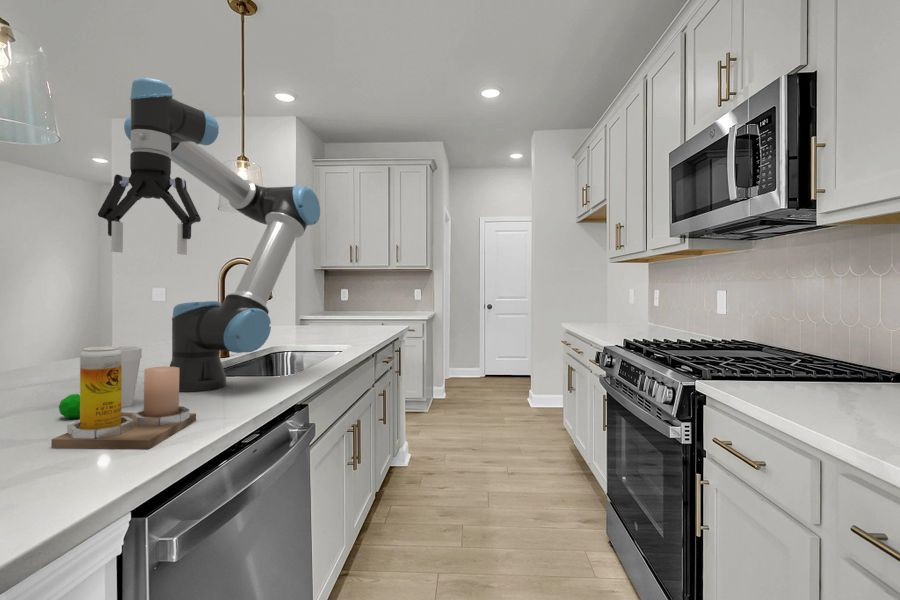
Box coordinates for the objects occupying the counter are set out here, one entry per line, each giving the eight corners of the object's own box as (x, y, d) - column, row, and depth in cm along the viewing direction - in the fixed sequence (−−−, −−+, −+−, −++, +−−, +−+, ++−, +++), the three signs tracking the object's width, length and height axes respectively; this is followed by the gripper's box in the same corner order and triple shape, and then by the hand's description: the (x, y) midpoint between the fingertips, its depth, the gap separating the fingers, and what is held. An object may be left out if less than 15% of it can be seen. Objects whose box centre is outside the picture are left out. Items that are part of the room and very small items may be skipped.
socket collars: (117, 412, 102) (117, 405, 102) (195, 413, 103) (195, 406, 103) (55, 438, 84) (55, 429, 84) (150, 439, 85) (150, 431, 85)
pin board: (116, 419, 102) (116, 412, 102) (196, 420, 103) (196, 413, 103) (51, 448, 84) (51, 439, 84) (148, 449, 85) (149, 440, 85)
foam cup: (142, 399, 120) (143, 345, 119) (138, 407, 112) (139, 350, 111) (95, 402, 116) (95, 346, 115) (87, 411, 107) (87, 351, 107)
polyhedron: (81, 420, 101) (82, 397, 100) (53, 421, 99) (53, 397, 99) (93, 414, 105) (93, 392, 105) (66, 415, 104) (66, 392, 104)
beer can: (99, 437, 86) (100, 351, 85) (71, 434, 87) (71, 349, 87) (129, 427, 92) (129, 347, 91) (101, 425, 93) (102, 345, 92)
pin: (153, 415, 101) (154, 366, 100) (184, 415, 101) (185, 366, 101) (137, 423, 95) (137, 371, 94) (169, 423, 95) (170, 371, 95)
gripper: (78, 146, 102) (77, 249, 103) (202, 152, 104) (201, 254, 104) (102, 156, 110) (100, 252, 110) (217, 161, 111) (215, 256, 112)
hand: (149, 253), depth 107 cm, fingers open, 13 cm apart
